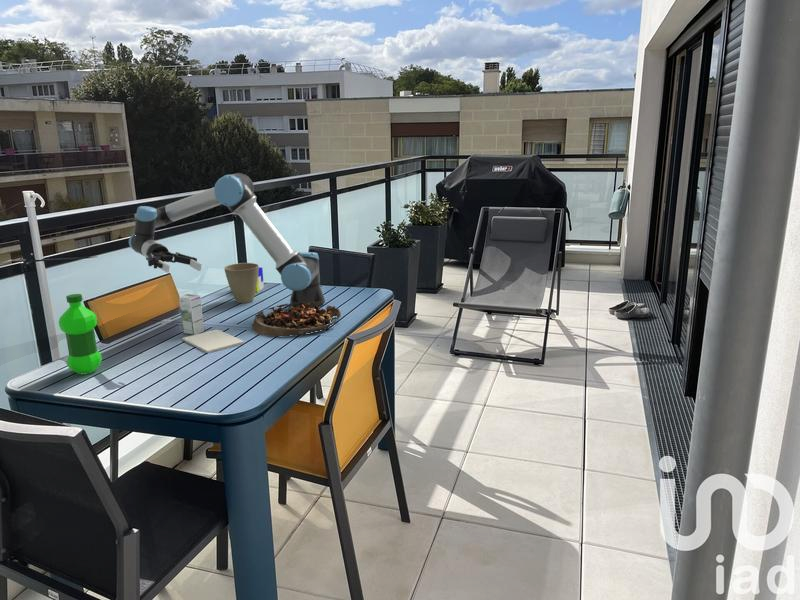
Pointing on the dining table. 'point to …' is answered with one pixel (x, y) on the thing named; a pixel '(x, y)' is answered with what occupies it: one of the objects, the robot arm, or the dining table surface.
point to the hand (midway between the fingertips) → (184, 268)
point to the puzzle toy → (260, 280)
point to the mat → (212, 341)
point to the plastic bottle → (80, 336)
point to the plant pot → (242, 280)
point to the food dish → (294, 320)
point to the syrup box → (191, 314)
